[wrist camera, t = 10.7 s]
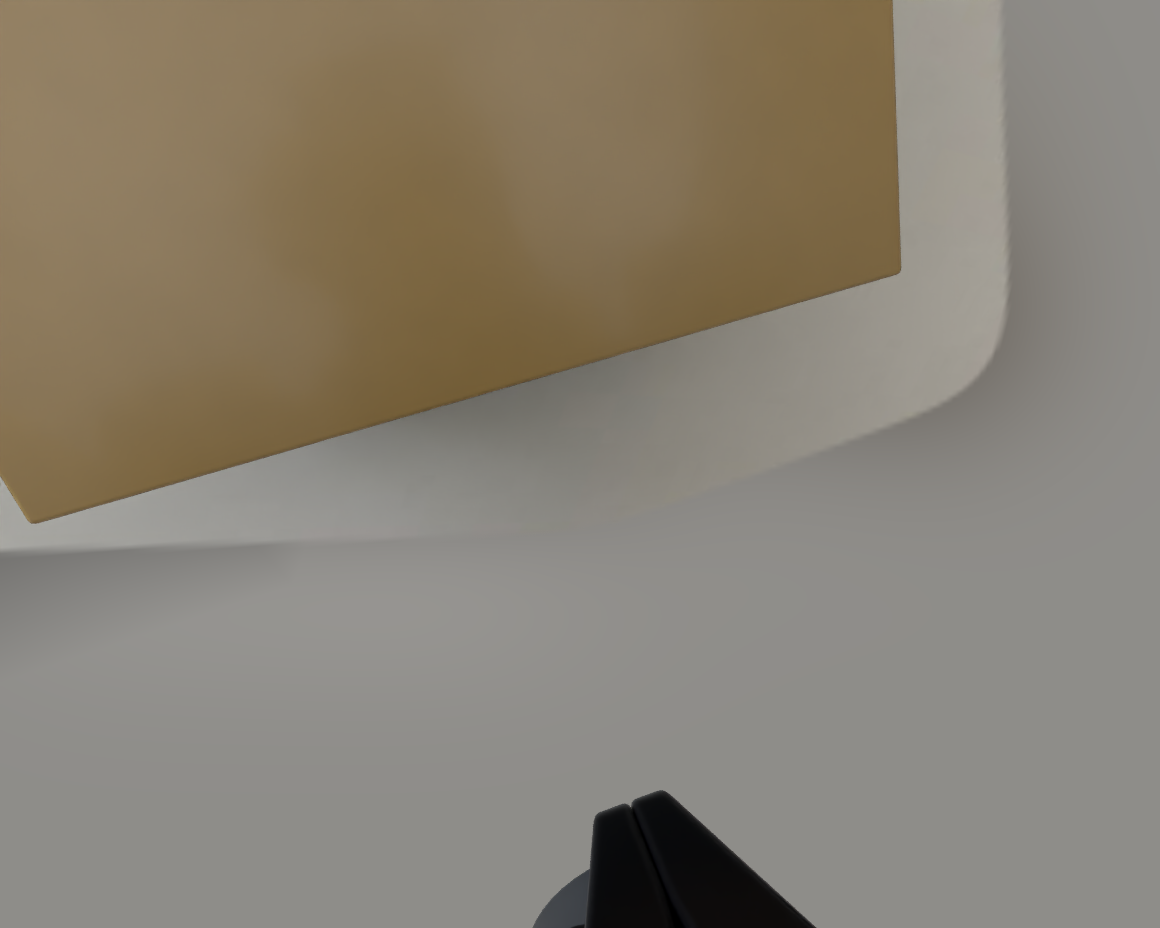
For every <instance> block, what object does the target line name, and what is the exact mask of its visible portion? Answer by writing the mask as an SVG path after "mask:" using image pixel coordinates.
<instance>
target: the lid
mask: <svg viewBox="0 0 1160 928" xmlns="http://www.w3.org/2000/svg"><path fill="white" fill-rule="evenodd" d="M900 271H901V246H900V216H899V185H898V155H897V124H896V94H895V63H894V32H893V2H892V0H0V476H1V478H2V480H3V481H4V483H5V485H6V486H7V488H8V489H9V491H10V493H11V494H12V496H13V498H14V499H15V501H16V502H17V504H18V506H19V507H20V509H21V510H22V512H23V514H24V515H25V517H26V519H27V520H28V521H29V522H30V523H31V524H36V523H41V522H44V521H48V520H51V519H55V518H58V517H61V516H65V515H68V514H72V513H75V512H79V511H82V510H86V509H89V508H93V507H96V506H99V505H103V504H106V503H110V502H113V501H117V500H120V499H124V498H127V497H131V496H134V495H137V494H141V493H144V492H148V491H151V490H155V489H158V488H162V487H165V486H168V485H172V484H175V483H179V482H182V481H186V480H189V479H193V478H196V477H200V476H203V475H206V474H210V473H213V472H217V471H220V470H224V469H227V468H231V467H234V466H238V465H241V464H244V463H248V462H251V461H255V460H258V459H262V458H265V457H269V456H272V455H275V454H279V453H282V452H286V451H289V450H293V449H296V448H300V447H303V446H307V445H310V444H313V443H317V442H320V441H324V440H327V439H331V438H334V437H338V436H341V435H345V434H348V433H351V432H355V431H358V430H362V429H365V428H369V427H372V426H376V425H379V424H382V423H386V422H389V421H393V420H396V419H400V418H403V417H407V416H410V415H414V414H417V413H420V412H424V411H427V410H431V409H434V408H438V407H441V406H445V405H448V404H452V403H455V402H458V401H462V400H465V399H469V398H472V397H476V396H479V395H483V394H486V393H489V392H493V391H496V390H500V389H503V388H507V387H510V386H514V385H517V384H521V383H524V382H527V381H531V380H534V379H538V378H541V377H545V376H548V375H552V374H555V373H559V372H562V371H565V370H569V369H572V368H576V367H579V366H583V365H586V364H590V363H593V362H596V361H600V360H603V359H607V358H610V357H614V356H617V355H621V354H624V353H628V352H631V351H634V350H638V349H641V348H645V347H648V346H652V345H655V344H659V343H662V342H666V341H669V340H672V339H676V338H679V337H683V336H686V335H690V334H693V333H697V332H700V331H703V330H707V329H710V328H714V327H717V326H721V325H724V324H728V323H731V322H735V321H738V320H741V319H745V318H748V317H752V316H755V315H759V314H762V313H766V312H769V311H773V310H776V309H779V308H783V307H786V306H790V305H793V304H797V303H800V302H804V301H807V300H810V299H814V298H817V297H821V296H824V295H828V294H831V293H835V292H838V291H842V290H845V289H848V288H852V287H855V286H859V285H862V284H866V283H869V282H873V281H876V280H880V279H883V278H886V277H890V276H893V275H896V274H898V273H900Z"/></svg>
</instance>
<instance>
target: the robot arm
mask: <svg viewBox="0 0 1160 928" xmlns="http://www.w3.org/2000/svg"><path fill="white" fill-rule="evenodd" d="M631 808H632V809H631ZM571 928H816V927H815V926H814V925H813V924H812V923H811V922H809V921H808V920H807V919H806V918H805V917H804V916H803V915H802V914H801V913H799V912H798V911H797V910H796V909H795V908H794V907H793V906H792V905H791V904H790V903H789V902H788V901H786V900H785V899H784V898H783V897H782V896H781V895H780V894H779V893H778V892H776V891H775V890H774V889H773V888H772V887H771V886H770V885H769V884H768V883H767V882H766V881H764V880H763V879H762V878H761V877H760V876H759V875H758V874H757V873H756V872H754V870H752V869H751V868H750V867H749V866H748V865H747V864H746V863H745V862H744V861H742V860H741V859H740V858H739V857H738V856H737V855H736V854H735V853H734V852H733V851H731V850H730V849H729V848H728V847H727V846H726V845H725V844H724V843H723V842H722V841H721V840H719V839H718V838H717V837H716V836H715V835H714V834H713V833H712V832H711V831H710V830H708V829H707V828H706V827H705V826H704V825H703V824H702V823H701V822H700V821H699V820H697V819H696V818H695V817H694V816H693V815H692V814H691V813H690V812H689V811H687V809H685V808H684V807H683V806H682V805H681V804H680V803H679V802H678V801H677V800H676V799H675V798H673V797H672V796H671V795H670V794H668V793H667V792H665V791H663V790H660V791H656V792H653V793H650V794H648V795H645V796H642V797H640V798H637V799H635V800H634V801H633V802H632V805H631V807H630V806H629V805H627V804H621V805H618V806H615V807H613V808H610V809H608V810H605V811H602V812H599V813H598V814H597V815H596V816H595V819H594V824H593V836H592V848H591V861H590V872H589V884H588V896H587V908H586V920H585V924H582V925H577V926H574V927H571Z"/></svg>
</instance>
